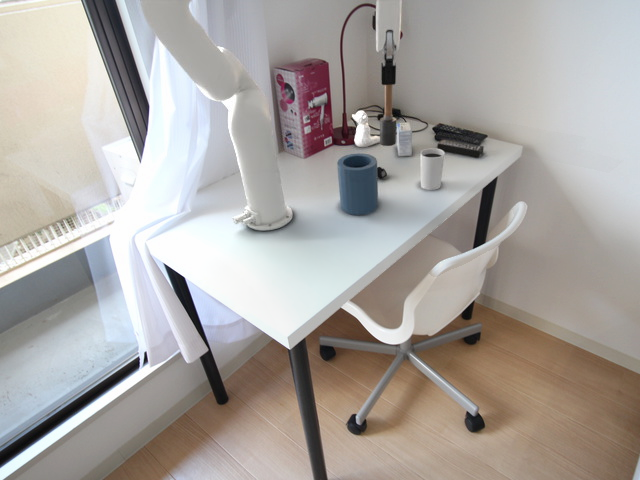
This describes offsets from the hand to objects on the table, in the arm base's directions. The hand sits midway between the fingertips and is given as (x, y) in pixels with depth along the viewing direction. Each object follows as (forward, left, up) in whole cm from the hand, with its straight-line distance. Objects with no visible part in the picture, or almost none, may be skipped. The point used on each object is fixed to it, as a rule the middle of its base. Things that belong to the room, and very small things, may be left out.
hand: (388, 82), depth 100 cm
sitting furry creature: (+24, +35, -32) cm, 53 cm away
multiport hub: (+40, +6, -32) cm, 52 cm away
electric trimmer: (+8, +18, -30) cm, 36 cm away
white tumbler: (+15, -2, -32) cm, 35 cm away
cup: (-7, +5, -32) cm, 33 cm away
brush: (0, 0, -15) cm, 15 cm away
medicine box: (+28, +20, -32) cm, 47 cm away
